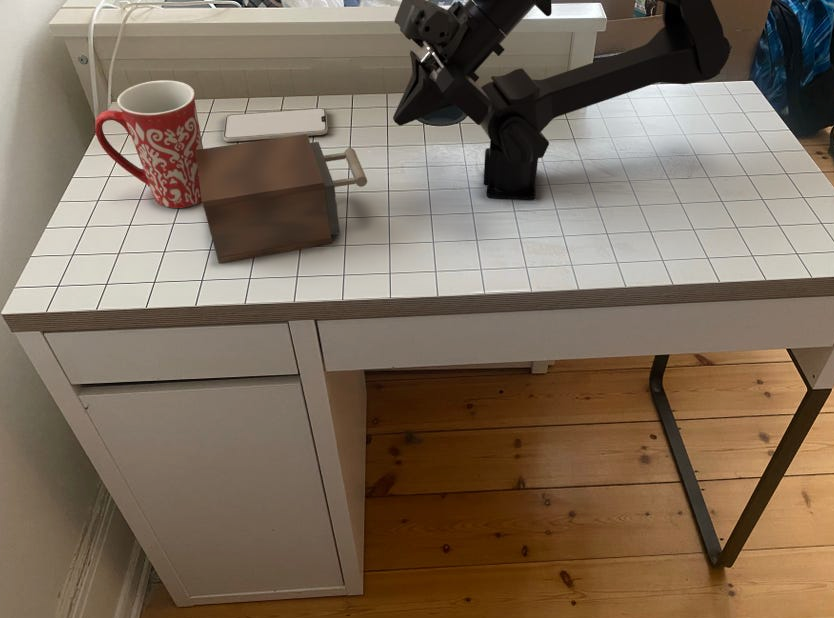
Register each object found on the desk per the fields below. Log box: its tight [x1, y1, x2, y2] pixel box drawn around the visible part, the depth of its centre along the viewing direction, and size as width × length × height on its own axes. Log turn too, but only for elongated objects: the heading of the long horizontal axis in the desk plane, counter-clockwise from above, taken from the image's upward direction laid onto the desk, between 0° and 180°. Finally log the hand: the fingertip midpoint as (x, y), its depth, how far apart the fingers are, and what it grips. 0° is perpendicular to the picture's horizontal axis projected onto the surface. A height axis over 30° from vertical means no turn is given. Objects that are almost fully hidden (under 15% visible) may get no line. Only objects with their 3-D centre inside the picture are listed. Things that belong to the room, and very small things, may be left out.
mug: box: [94, 79, 204, 209], centre depth 94 cm, size 13×9×14 cm
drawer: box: [310, 141, 368, 235], centre depth 92 cm, size 17×10×7 cm, turn 107°
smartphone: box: [222, 107, 329, 143], centre depth 112 cm, size 7×1×15 cm
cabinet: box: [195, 134, 333, 264], centre depth 91 cm, size 14×12×9 cm
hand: (396, 122), depth 89 cm, fingers closed
